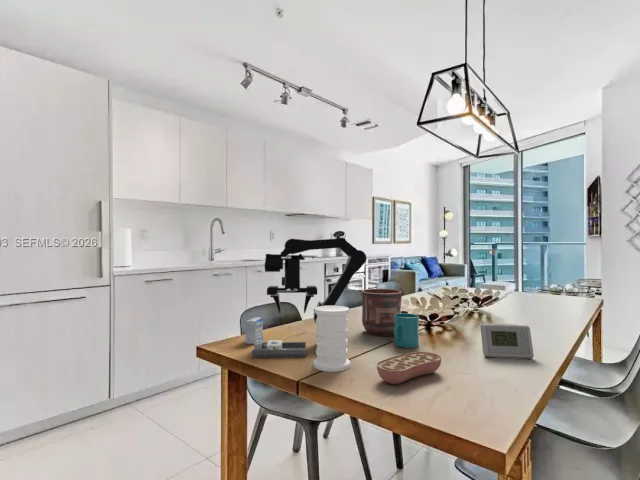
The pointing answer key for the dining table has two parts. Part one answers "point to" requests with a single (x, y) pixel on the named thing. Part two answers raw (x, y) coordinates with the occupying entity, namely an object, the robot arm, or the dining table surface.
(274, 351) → the gauge stand
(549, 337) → the dining table surface
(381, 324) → the pottery
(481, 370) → the dining table surface
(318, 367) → the decorative container
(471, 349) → the dining table surface
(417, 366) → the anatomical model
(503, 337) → the digital thermostat
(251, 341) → the medicine box
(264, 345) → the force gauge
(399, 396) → the dining table surface
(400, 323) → the cup
